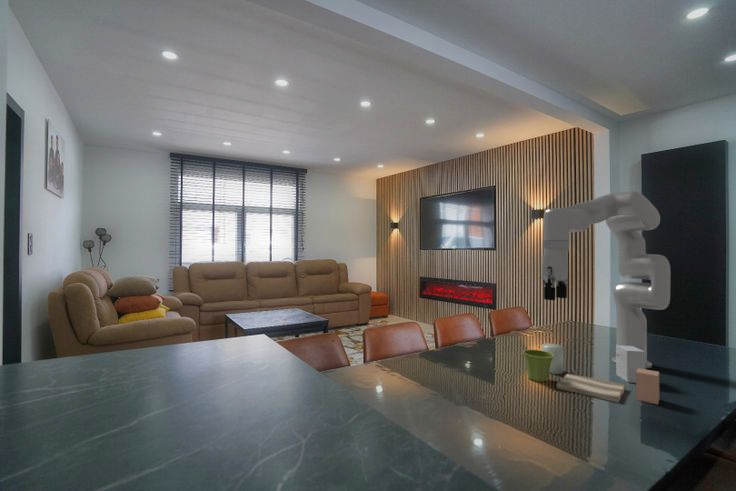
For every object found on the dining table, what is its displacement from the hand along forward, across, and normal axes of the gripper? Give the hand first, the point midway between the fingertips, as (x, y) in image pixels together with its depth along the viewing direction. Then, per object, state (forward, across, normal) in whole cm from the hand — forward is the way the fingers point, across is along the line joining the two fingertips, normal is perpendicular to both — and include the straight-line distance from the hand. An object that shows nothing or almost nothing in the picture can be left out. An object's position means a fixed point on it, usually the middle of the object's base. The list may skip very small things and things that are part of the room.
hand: (555, 298), depth 119 cm
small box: (+27, -24, +15) cm, 40 cm away
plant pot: (+28, 0, -6) cm, 28 cm away
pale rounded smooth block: (+27, -13, -6) cm, 31 cm away
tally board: (+27, -4, +9) cm, 29 cm away
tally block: (+27, -7, +23) cm, 36 cm away
